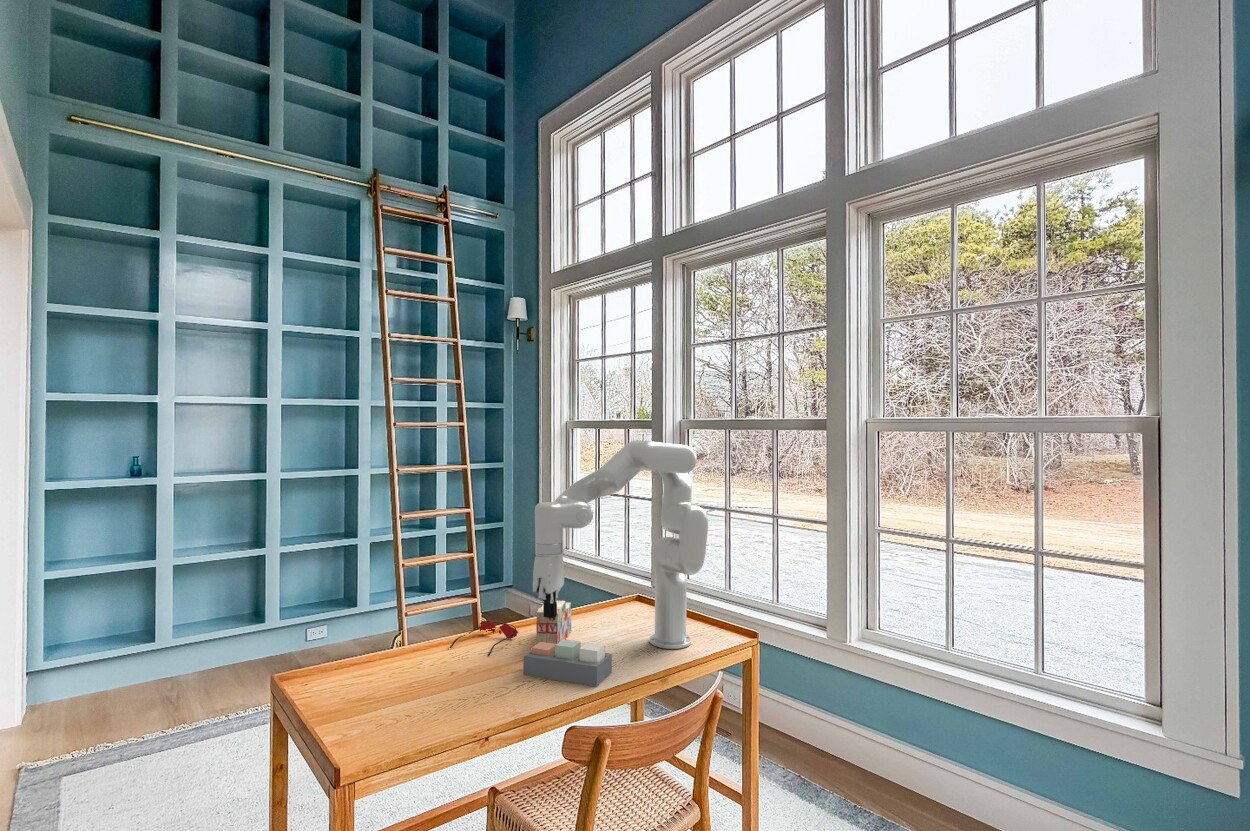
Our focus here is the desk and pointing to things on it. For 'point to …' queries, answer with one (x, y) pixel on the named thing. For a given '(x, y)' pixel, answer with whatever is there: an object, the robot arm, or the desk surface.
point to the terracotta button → (543, 649)
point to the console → (567, 669)
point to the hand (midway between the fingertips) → (550, 616)
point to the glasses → (505, 628)
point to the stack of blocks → (554, 624)
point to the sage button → (567, 649)
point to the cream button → (592, 653)
